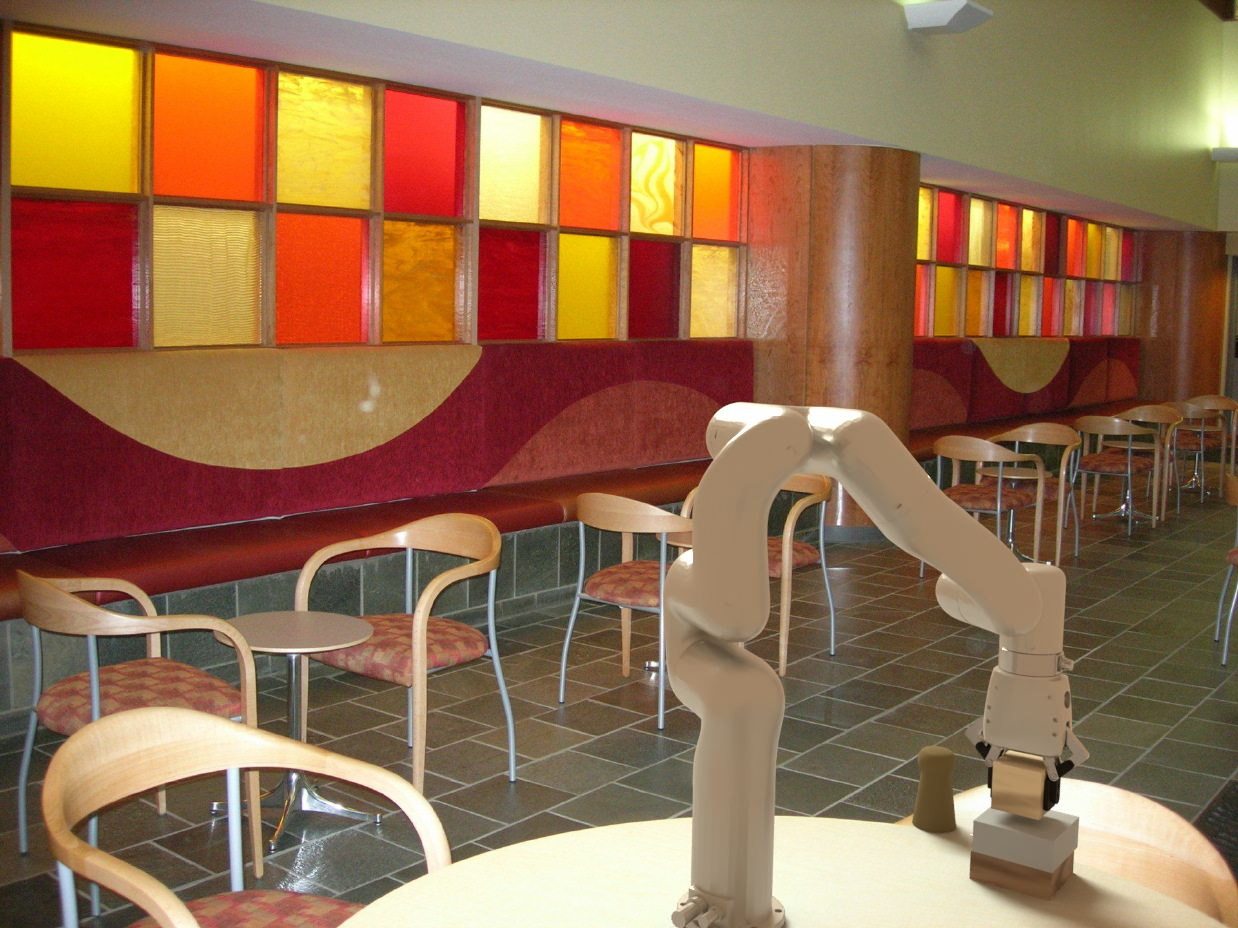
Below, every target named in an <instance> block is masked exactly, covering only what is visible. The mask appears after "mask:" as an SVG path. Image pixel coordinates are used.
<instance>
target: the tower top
mask: <svg viewBox="0 0 1238 928" xmlns="http://www.w3.org/2000/svg"><path fill="white" fill-rule="evenodd" d="M972 824H973V825H972V841H971V842H972V844H971V846H972V847H971V850H972V851H974V852H977V853H981V854H985V855H988V856H992V857H995V858H999V859H1003V860H1006V861H1010V862H1014V863H1017V864H1021V865H1024V866H1028V867H1032V868H1035V869H1039V870H1042V871H1046V872H1050V873H1053V872H1054V871H1055V870H1056V869H1057V868H1058V867H1059V866H1060V865H1061V864H1062V863H1063V862H1064V861H1065V859H1066V858H1067V857H1068V856H1069V855H1070V854H1071V853H1072V852H1073V851H1074V852H1075V850H1077V848H1078V847H1079V846H1078V845H1079V844H1078V842H1079V828H1080V825H1079V824H1080V816H1078V815H1074V814H1073V815H1072V814H1069V813H1065V812H1060V811H1057V810H1053V809H1050V810H1049V811H1048V812H1047V813H1046V814H1045V815H1044V816H1043V817H1042V818H1041V819H1040V820H1036V819H1032V818H1028V817H1024V816H1020V815H1016V814H1012V813H1008V812H1004V811H999V810H995V809H991V806H990V807H988V808H987V809H986V810H985V811H984V812H982V813H981V814H979V815H978V816H977V817H976V818H975V819H974V820H973V823H972Z"/></svg>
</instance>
